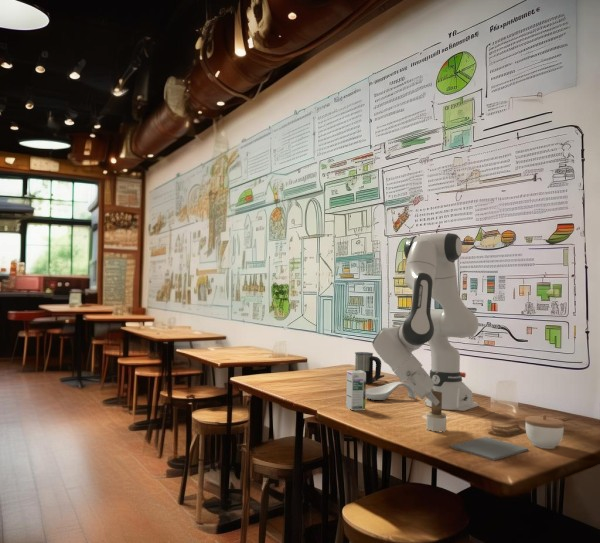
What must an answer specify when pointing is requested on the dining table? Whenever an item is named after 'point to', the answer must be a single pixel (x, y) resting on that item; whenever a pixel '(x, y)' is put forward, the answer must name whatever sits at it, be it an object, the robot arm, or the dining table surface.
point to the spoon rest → (387, 391)
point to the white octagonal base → (436, 424)
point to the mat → (489, 448)
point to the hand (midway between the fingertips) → (438, 402)
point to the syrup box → (356, 390)
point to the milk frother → (368, 365)
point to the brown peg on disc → (437, 407)
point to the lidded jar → (544, 431)
